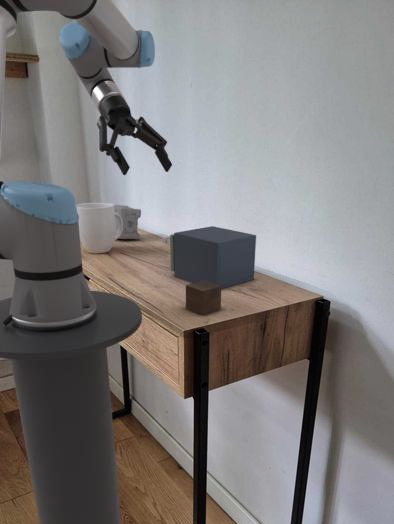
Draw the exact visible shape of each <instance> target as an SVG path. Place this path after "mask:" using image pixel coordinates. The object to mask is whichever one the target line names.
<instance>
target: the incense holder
mask: <svg viewBox="0 0 394 524" xmlns="http://www.w3.org/2000/svg"><path fill="white" fill-rule="evenodd" d="M114 207H115V212H117V213H118V214H119V215H120V216H121V218H122V220H123V230H122V233H121V235H120V237H119V238H118V239H119V240H140V237H141V236H140V234H139V232H138V227H139V219H140V218H141V216H142V210H141V208H133V207H131V206H129V205H123V204H122V205H121V204H114ZM115 220H116V228H115V229H116V231H115V235H116V234H117V231H118V227H119V223H118V218H117V217H116V216H115Z"/></svg>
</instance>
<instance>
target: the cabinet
mask: <svg viewBox="0 0 394 524" xmlns="http://www.w3.org/2000/svg"><path fill="white" fill-rule="evenodd" d="M173 234H174V261H175V271H174V277H175V278H178V279H182V280H184V281H187V282H190V283H195V282H199V281H203V280H205V281H208V282H211V283H215V284H218V285H221V290H222V289H225V288H229V287H232V286H236V285H239V284H243V283H246V282H250V281H253V280H254V279H255V267H256V266H255V265H256V263H255V262H256V249H257V248H256V246H257V234H252V233H248V232H243V231H238V230H233V229H227V228H223V227H219V226H213V225H211V226H206V227H199V228H195V229H188V230H183V231H176V232H174V233H173Z"/></svg>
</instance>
